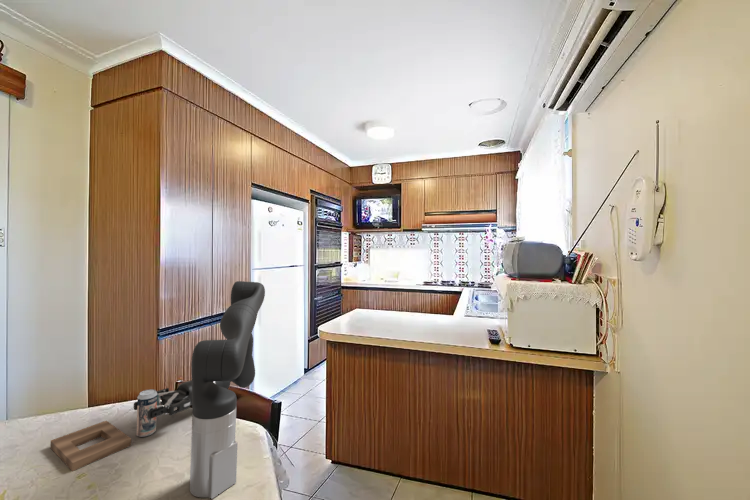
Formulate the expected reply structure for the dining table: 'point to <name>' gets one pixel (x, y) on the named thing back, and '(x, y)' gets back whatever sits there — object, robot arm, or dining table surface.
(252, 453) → the dining table surface
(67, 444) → the frame
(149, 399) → the beer can
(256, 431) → the dining table surface
